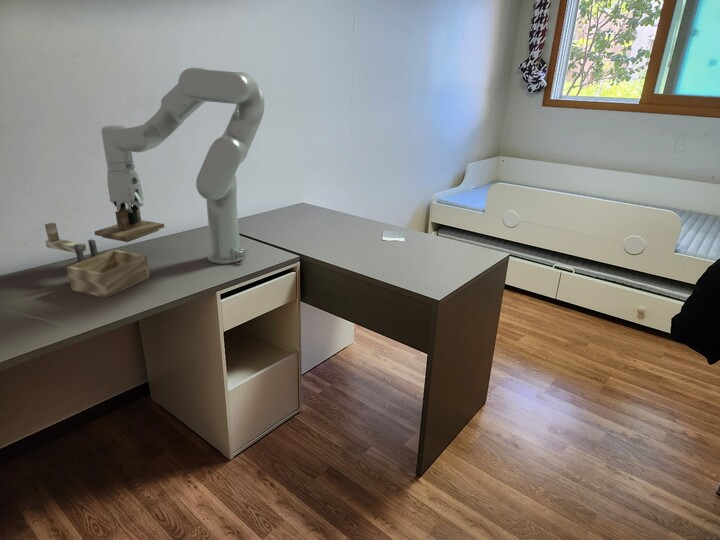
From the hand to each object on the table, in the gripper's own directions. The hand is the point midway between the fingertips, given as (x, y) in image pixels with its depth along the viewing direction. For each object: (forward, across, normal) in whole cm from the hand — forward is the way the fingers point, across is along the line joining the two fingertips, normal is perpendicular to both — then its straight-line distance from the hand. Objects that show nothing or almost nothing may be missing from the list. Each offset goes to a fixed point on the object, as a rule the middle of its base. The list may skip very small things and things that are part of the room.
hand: (129, 222), depth 154 cm
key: (+4, +5, +20) cm, 21 cm away
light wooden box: (+12, -10, +20) cm, 25 cm away
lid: (+4, 0, 0) cm, 4 cm away
